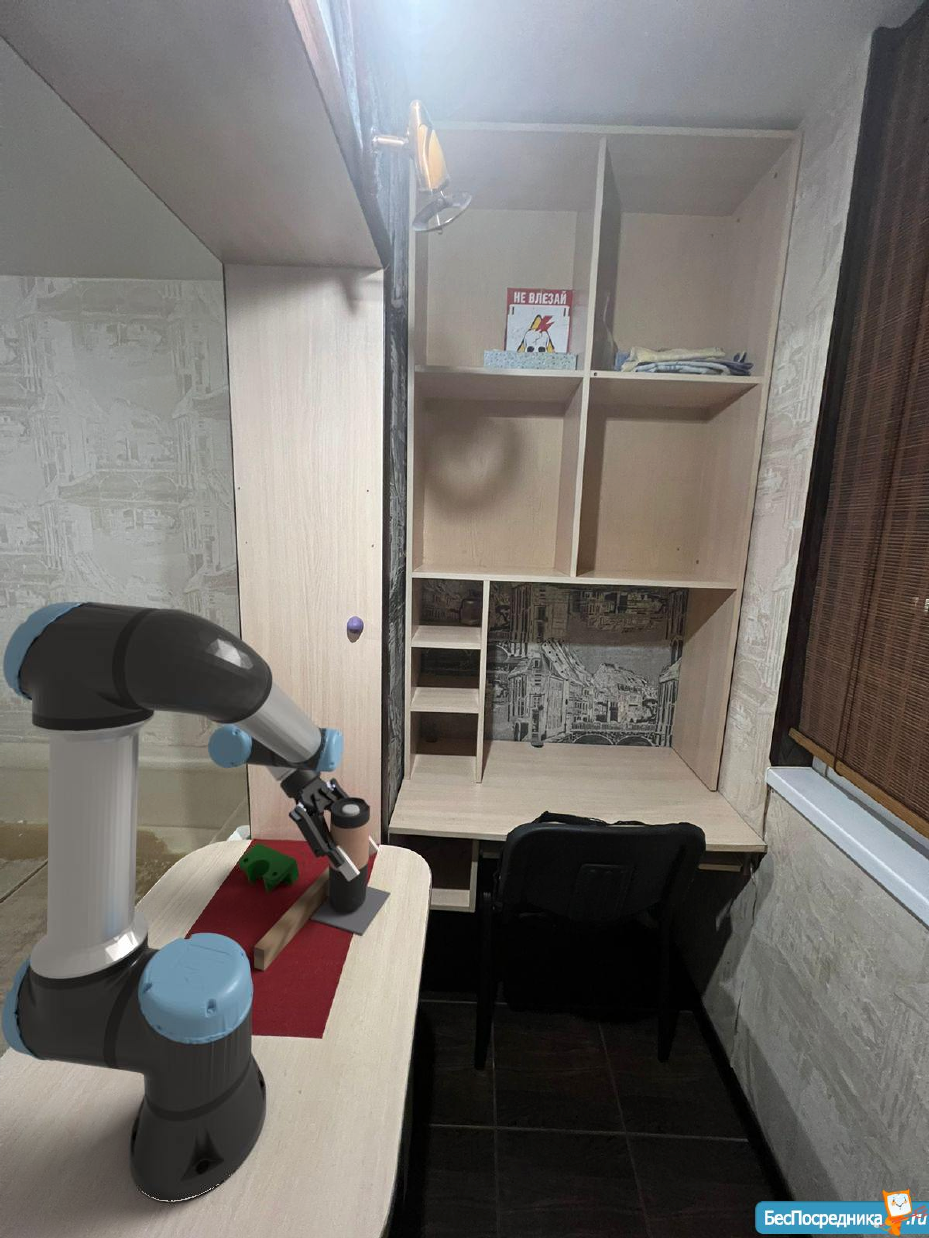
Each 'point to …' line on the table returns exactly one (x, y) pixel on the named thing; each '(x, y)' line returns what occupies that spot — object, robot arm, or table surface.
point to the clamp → (269, 866)
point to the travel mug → (349, 852)
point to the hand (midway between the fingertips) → (364, 864)
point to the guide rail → (291, 922)
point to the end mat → (353, 912)
